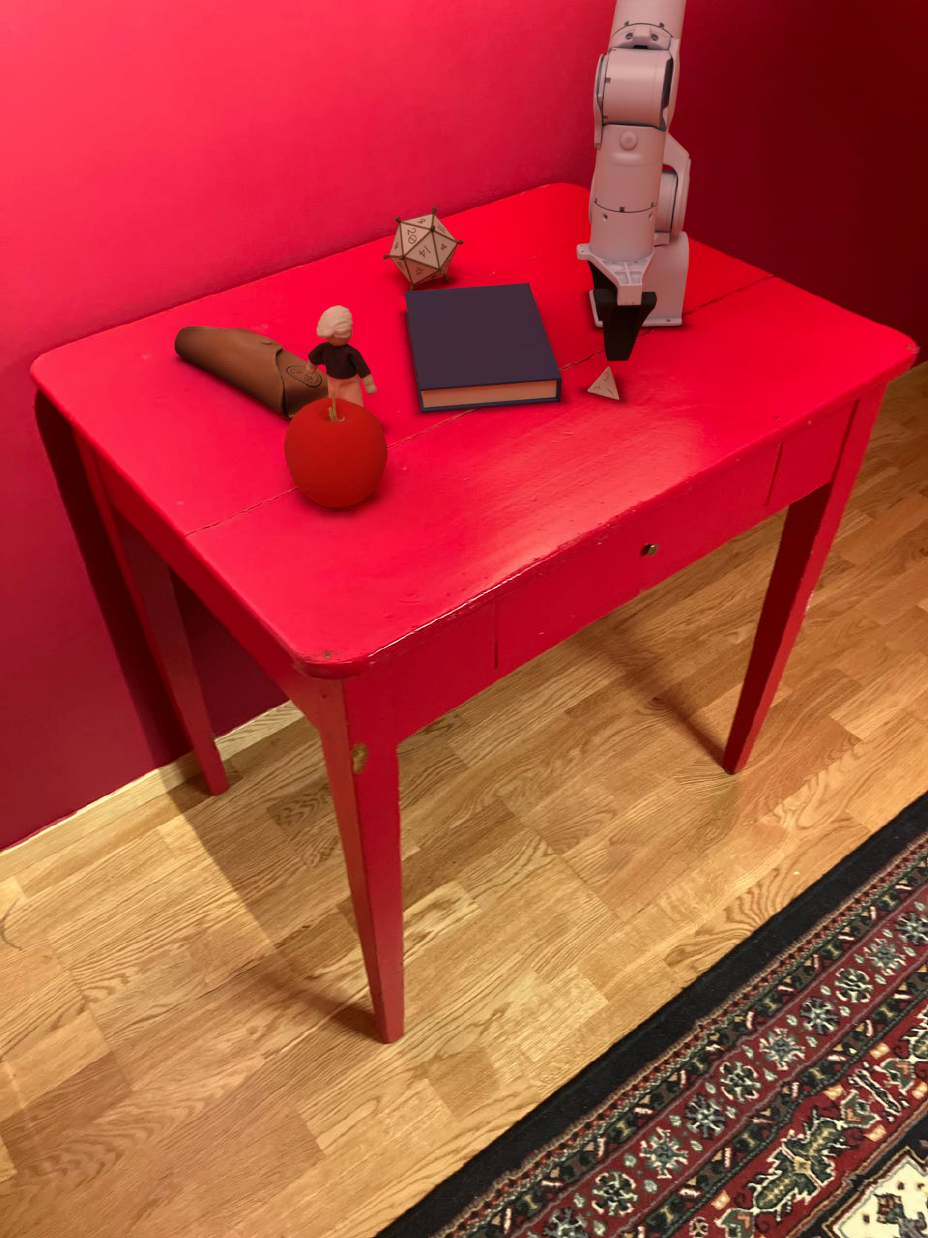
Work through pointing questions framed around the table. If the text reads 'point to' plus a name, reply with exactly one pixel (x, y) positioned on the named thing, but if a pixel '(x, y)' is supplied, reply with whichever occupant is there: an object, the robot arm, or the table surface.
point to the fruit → (335, 452)
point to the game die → (423, 249)
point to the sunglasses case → (253, 366)
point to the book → (480, 348)
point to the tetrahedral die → (605, 385)
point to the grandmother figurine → (340, 357)
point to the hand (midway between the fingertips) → (612, 338)
